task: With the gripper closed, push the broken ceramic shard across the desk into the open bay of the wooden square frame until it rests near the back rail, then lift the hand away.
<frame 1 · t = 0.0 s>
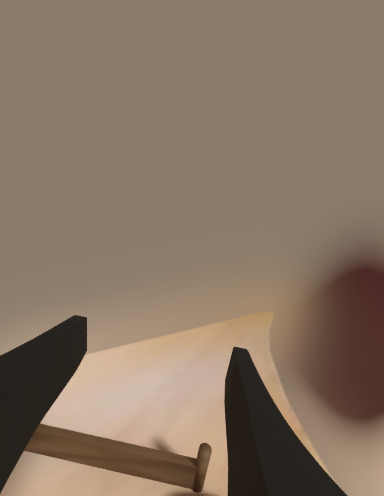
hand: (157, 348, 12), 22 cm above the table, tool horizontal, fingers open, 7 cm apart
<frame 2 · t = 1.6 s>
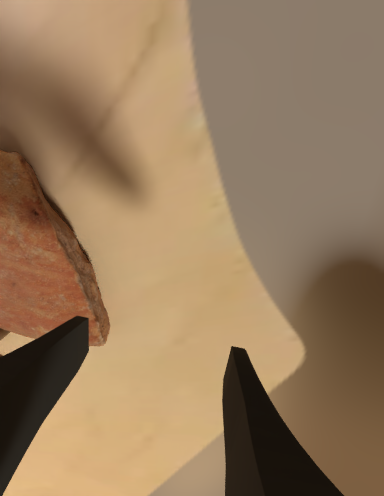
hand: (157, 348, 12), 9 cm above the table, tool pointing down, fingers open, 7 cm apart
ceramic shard: (46, 244, 22), on the table
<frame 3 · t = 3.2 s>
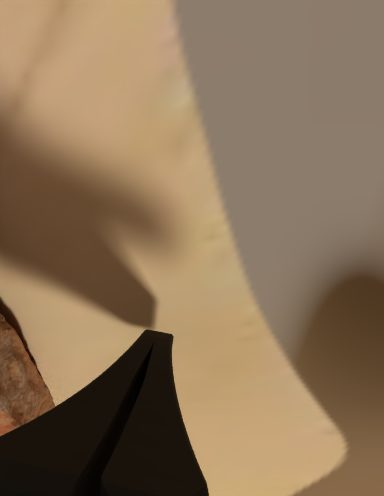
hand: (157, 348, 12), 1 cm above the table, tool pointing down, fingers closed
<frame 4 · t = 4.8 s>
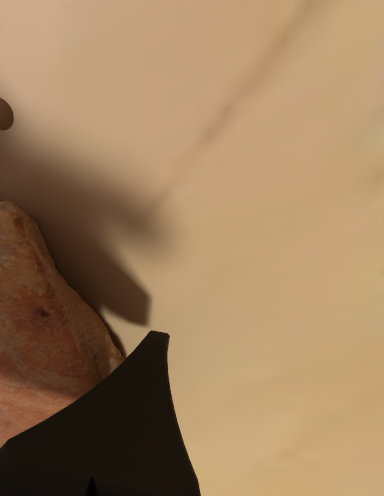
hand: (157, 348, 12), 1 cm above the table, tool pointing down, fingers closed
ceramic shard: (58, 327, 15), on the table, touching wooden square frame, gripper
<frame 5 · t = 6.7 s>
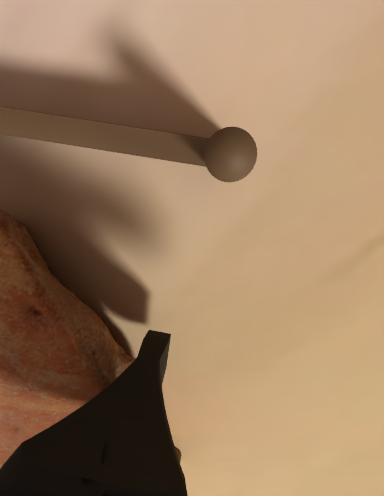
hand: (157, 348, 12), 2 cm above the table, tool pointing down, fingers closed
wooden square frame: (27, 307, 14), on the table
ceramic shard: (61, 332, 15), on the table, touching wooden square frame, gripper
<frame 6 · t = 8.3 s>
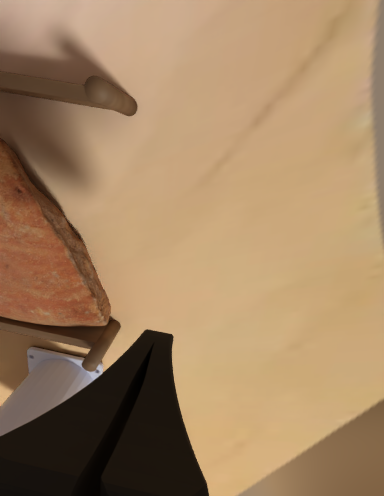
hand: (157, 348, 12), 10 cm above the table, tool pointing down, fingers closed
wooden square frame: (13, 212, 22), on the table
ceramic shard: (38, 230, 23), on the table
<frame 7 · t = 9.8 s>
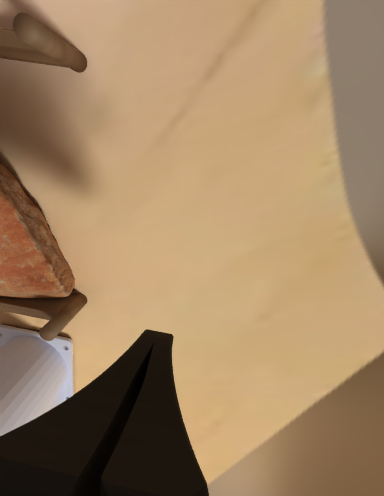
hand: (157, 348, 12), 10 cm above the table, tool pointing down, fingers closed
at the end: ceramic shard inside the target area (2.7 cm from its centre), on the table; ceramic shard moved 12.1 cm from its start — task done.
